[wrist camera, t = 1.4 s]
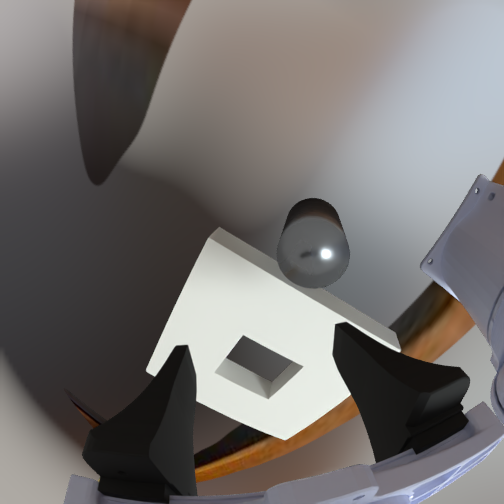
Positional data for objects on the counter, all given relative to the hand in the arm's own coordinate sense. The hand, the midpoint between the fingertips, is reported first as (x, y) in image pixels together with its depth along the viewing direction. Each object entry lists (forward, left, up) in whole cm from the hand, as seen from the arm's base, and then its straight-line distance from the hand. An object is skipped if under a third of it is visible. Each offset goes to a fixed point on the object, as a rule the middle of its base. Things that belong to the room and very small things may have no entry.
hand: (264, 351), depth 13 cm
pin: (-4, 0, -10) cm, 11 cm away
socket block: (+9, +3, -10) cm, 14 cm away
